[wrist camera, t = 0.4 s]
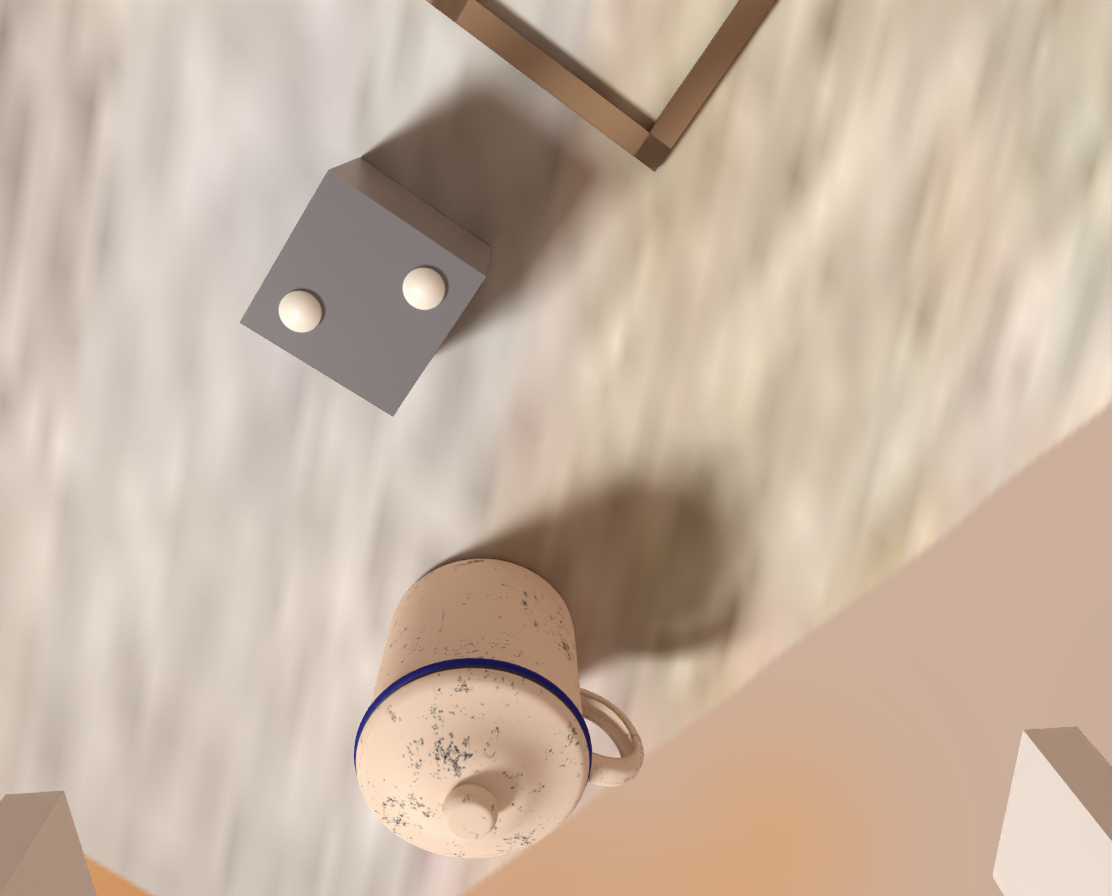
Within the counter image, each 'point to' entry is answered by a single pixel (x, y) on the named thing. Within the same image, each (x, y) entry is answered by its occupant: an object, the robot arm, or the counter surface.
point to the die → (368, 284)
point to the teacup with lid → (484, 715)
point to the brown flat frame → (590, 105)
